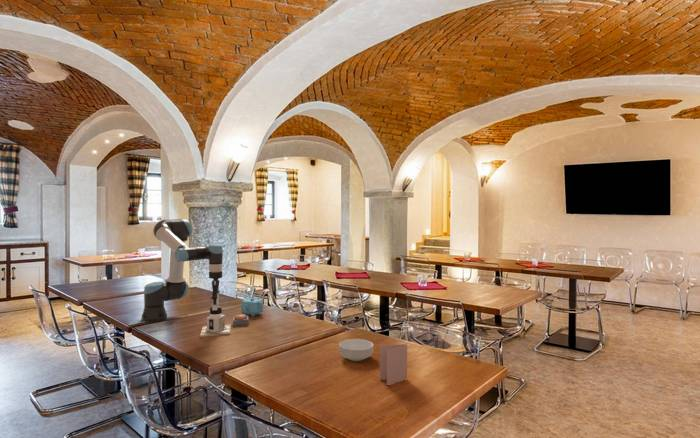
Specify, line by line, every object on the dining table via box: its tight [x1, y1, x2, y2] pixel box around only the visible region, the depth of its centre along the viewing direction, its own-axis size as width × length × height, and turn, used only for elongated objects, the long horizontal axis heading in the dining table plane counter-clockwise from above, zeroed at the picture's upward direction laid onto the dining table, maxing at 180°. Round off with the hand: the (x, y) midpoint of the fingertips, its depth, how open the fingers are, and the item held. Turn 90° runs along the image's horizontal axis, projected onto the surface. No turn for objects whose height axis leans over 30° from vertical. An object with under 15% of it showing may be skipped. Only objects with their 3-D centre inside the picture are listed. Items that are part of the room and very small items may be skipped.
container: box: [206, 305, 226, 331], centre depth 247 cm, size 8×8×13 cm
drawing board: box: [199, 323, 232, 338], centre depth 247 cm, size 18×16×1 cm
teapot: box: [240, 296, 264, 318], centre depth 286 cm, size 16×18×11 cm
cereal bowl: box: [338, 338, 375, 362], centre depth 204 cm, size 17×17×7 cm
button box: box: [232, 315, 249, 327], centre depth 263 cm, size 9×9×4 cm
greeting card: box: [379, 344, 408, 386], centre depth 176 cm, size 11×7×15 cm, turn 92°
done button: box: [235, 313, 246, 320], centre depth 263 cm, size 6×6×2 cm
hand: (215, 307), depth 247 cm, fingers open, 13 cm apart
